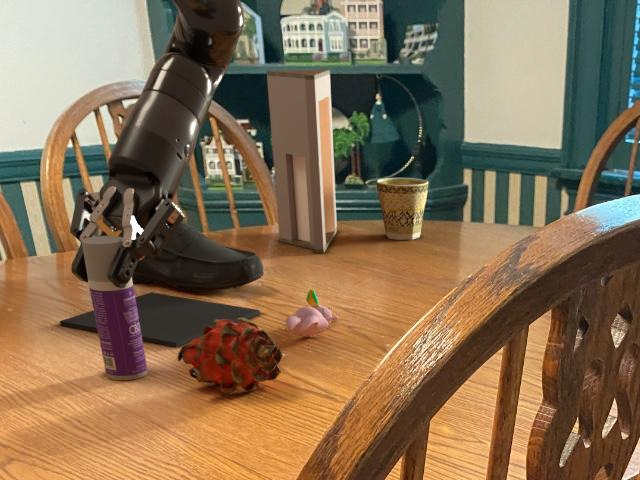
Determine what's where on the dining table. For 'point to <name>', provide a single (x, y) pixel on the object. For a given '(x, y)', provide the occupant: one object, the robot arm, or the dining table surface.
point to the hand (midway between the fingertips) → (97, 280)
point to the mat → (171, 318)
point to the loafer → (197, 263)
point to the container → (114, 311)
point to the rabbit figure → (311, 317)
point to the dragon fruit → (233, 355)
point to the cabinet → (303, 156)
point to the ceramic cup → (402, 206)
